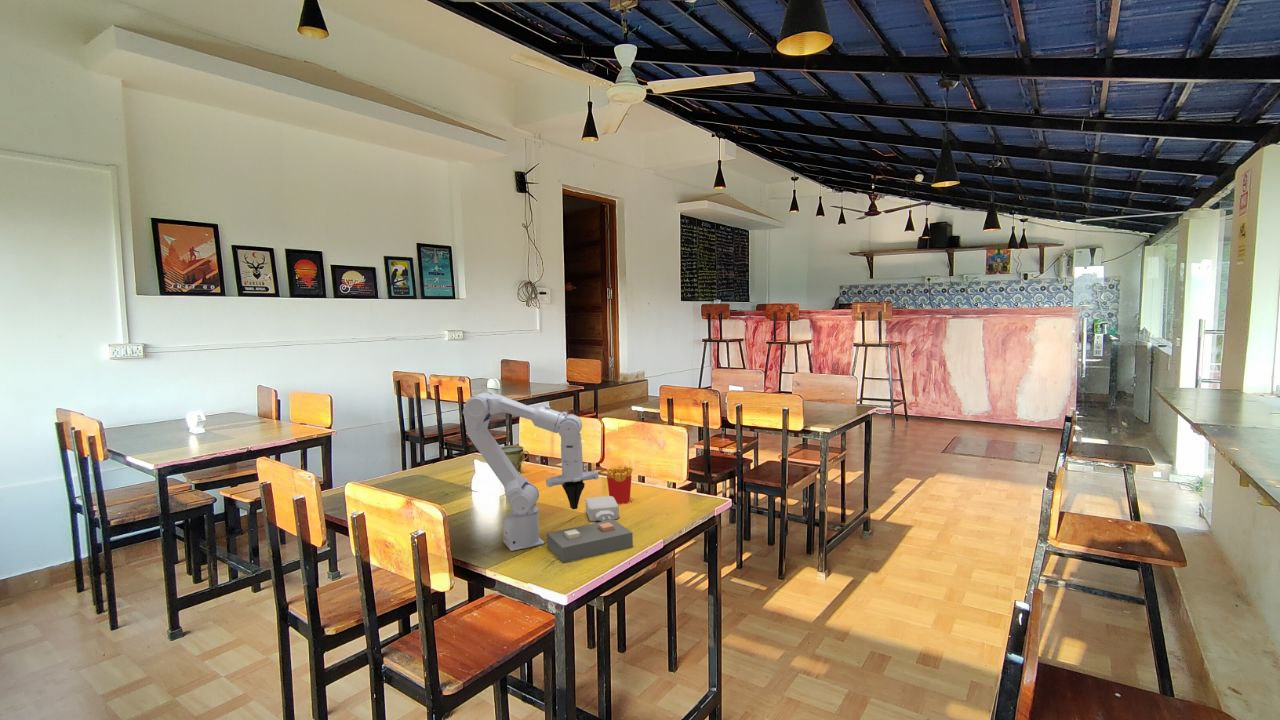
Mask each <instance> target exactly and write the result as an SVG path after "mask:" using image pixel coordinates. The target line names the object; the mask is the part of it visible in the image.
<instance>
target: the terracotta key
mask: <svg viewBox="0 0 1280 720" xmlns="http://www.w3.org/2000/svg"><path fill="white" fill-rule="evenodd" d="M598 527H599V530H600V531H601V532H603V533H604V532H608V531H613V530H614V526H613V525H612V524H611V523H609V522H608V523H603V524H598Z"/></svg>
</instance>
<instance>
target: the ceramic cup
mask: <svg viewBox="0 0 1280 720" xmlns="http://www.w3.org/2000/svg"><path fill="white" fill-rule="evenodd" d="M500 447H501V449H502V450H503V452H504V453H505V455H506V456H507V457H508V459H509V460H510V462H511V463H512V464H513V466H514V467H515V469H516V470H517V471H518V473H519V472H520V473H521V469H522V464H523V463H524V462H525V460H527V459H528V458H529V457H530V453H529V452H528V450H524V447H523V446H521V445H504V446H500ZM524 453H525V454H526V453H527V456H526V457H525V458H524V459H523V455H524ZM520 473H519V474H520Z"/></svg>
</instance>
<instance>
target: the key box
mask: <svg viewBox="0 0 1280 720" xmlns="http://www.w3.org/2000/svg"><path fill="white" fill-rule="evenodd" d="M608 522H609V523H611V524H612V525H613V526H614V530H613V531H608V532H604V533H603V532H601V531H600V530H599V527H598V524H603V523H608ZM574 529H576V530H577V531H578V532H579V533H580V538H576V539H571V540H568V539H566V538H565V537H564V531H569V530H574ZM633 538H634V537H633V531H631V530H629V528H626V527H625V526H624V525H623V524H620V523H619V522H618V521H616V519H612V520H608V521H603V522H602V521H597V522H594V523H589V524H584V525H579V526H573V527H569V528H565V529H560V530H553V531H550V532H546V544H547V546H546V547H547V549H549V551H550V552H552V553H553V554H554V556H556V558H557V559H559V560H560V562H562V563H563V564H564V563H569V562H574V561H577V560H581V559H582V560H583V559H586V558H590V557H595V556H598V555H604V554H607V553H612V552H616V551H621V550H625V549H630V548H633V547H634V544H633V543H634V540H633ZM629 547H630V548H629Z"/></svg>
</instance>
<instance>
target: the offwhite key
mask: <svg viewBox="0 0 1280 720" xmlns="http://www.w3.org/2000/svg"><path fill="white" fill-rule="evenodd" d="M564 537H565V538H566V539H568V540H571V539H576V538H580V533H579V532H578V531H577V530H576V529H574V530H569V531H564Z"/></svg>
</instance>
